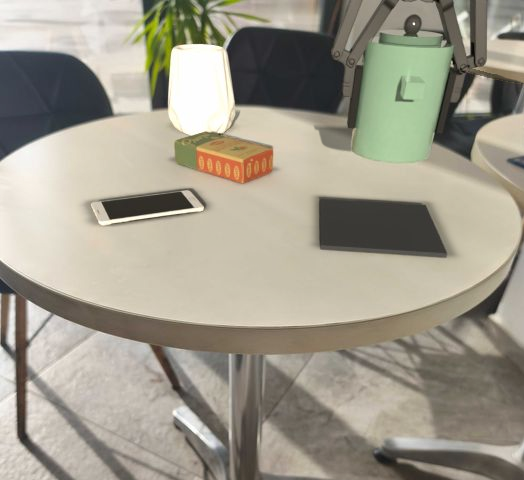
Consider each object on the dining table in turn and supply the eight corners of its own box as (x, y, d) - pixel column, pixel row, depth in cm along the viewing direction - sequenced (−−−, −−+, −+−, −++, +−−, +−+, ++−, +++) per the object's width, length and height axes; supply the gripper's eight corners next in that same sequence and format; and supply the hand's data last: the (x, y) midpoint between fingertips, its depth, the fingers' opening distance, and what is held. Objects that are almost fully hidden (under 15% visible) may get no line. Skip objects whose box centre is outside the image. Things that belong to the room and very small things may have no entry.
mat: (424, 208, 75) (425, 204, 75) (446, 257, 63) (447, 253, 62) (319, 202, 76) (320, 198, 76) (320, 249, 64) (320, 245, 63)
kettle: (442, 176, 56) (481, 23, 47) (354, 170, 57) (376, 18, 48) (418, 134, 70) (444, 9, 61) (347, 130, 70) (363, 6, 61)
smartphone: (205, 207, 71) (99, 222, 66) (205, 211, 72) (99, 226, 67) (189, 189, 77) (90, 202, 72) (189, 193, 77) (90, 206, 72)
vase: (182, 118, 113) (176, 40, 103) (242, 123, 111) (242, 45, 101) (159, 135, 102) (151, 50, 92) (226, 141, 100) (224, 54, 90)
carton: (242, 185, 81) (242, 158, 78) (174, 163, 88) (171, 138, 86) (273, 172, 86) (274, 147, 83) (206, 152, 94) (205, 129, 91)
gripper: (543, -108, 50) (478, 125, 64) (321, -115, 51) (304, 115, 65) (573, -117, 44) (494, 141, 58) (322, -124, 46) (302, 131, 59)
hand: (393, 128), depth 62 cm, fingers closed on kettle, 10 cm apart
